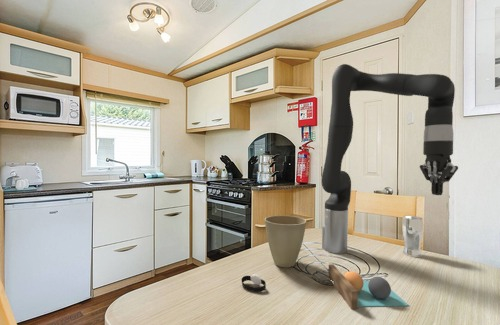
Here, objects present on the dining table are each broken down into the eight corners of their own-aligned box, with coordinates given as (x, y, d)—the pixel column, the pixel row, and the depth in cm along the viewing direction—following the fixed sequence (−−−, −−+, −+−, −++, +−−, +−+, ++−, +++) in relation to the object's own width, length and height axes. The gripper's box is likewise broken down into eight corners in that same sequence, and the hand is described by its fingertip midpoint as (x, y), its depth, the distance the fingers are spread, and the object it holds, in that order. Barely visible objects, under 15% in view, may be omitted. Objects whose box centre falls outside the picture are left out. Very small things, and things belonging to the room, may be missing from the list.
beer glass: (426, 258, 96) (426, 220, 95) (406, 257, 97) (406, 218, 97) (417, 252, 102) (418, 216, 102) (399, 250, 104) (399, 215, 104)
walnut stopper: (357, 309, 62) (357, 291, 62) (351, 309, 62) (351, 291, 62) (333, 278, 78) (333, 264, 78) (328, 278, 78) (328, 264, 78)
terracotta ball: (336, 286, 71) (342, 267, 72) (346, 285, 75) (351, 267, 75) (354, 297, 67) (360, 277, 67) (364, 295, 70) (369, 276, 71)
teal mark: (356, 306, 63) (356, 305, 63) (335, 280, 77) (335, 279, 77) (409, 305, 64) (409, 305, 64) (378, 279, 78) (378, 279, 78)
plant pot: (314, 267, 86) (315, 222, 86) (278, 275, 80) (279, 226, 80) (289, 252, 100) (290, 213, 100) (256, 259, 93) (257, 216, 93)
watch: (268, 288, 73) (268, 275, 73) (261, 295, 69) (261, 282, 68) (246, 281, 76) (246, 269, 76) (237, 288, 72) (238, 275, 72)
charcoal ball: (361, 290, 69) (369, 276, 67) (370, 282, 72) (378, 269, 70) (380, 307, 65) (389, 293, 63) (388, 298, 69) (397, 284, 67)
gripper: (468, 138, 72) (467, 198, 72) (433, 142, 85) (432, 192, 85) (443, 138, 72) (442, 198, 72) (411, 141, 85) (410, 192, 85)
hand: (436, 194), depth 79 cm, fingers closed
